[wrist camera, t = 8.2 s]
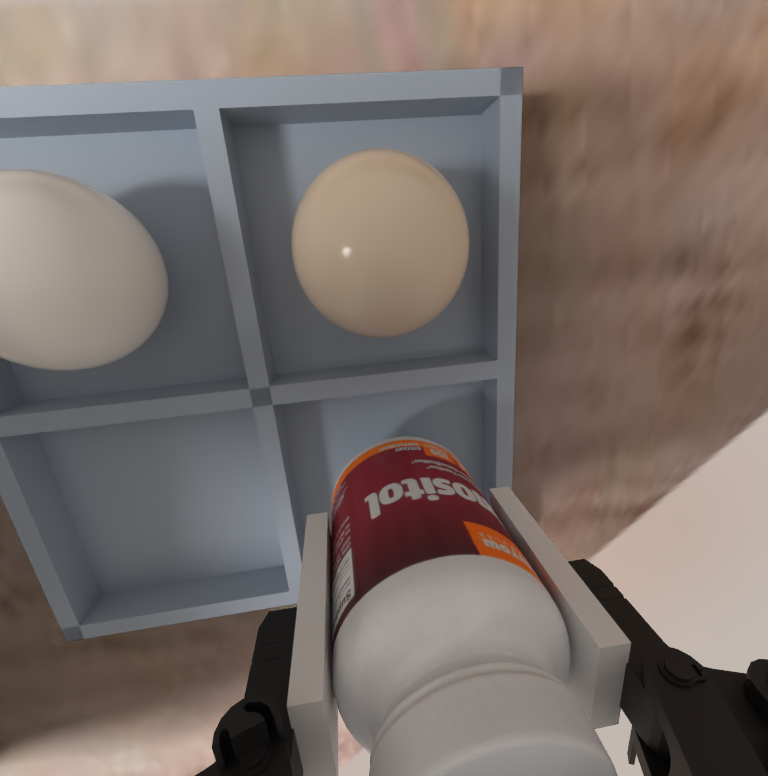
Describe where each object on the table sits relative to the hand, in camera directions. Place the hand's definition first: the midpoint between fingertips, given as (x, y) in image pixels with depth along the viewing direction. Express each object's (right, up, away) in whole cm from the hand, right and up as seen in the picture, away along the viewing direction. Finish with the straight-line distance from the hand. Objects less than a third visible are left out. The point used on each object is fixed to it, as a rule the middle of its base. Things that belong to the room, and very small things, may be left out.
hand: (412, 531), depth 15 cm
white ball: (-12, +10, 0) cm, 15 cm away
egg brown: (-2, +11, +1) cm, 11 cm away
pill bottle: (0, +1, +3) cm, 3 cm away
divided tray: (-6, +6, +3) cm, 9 cm away
